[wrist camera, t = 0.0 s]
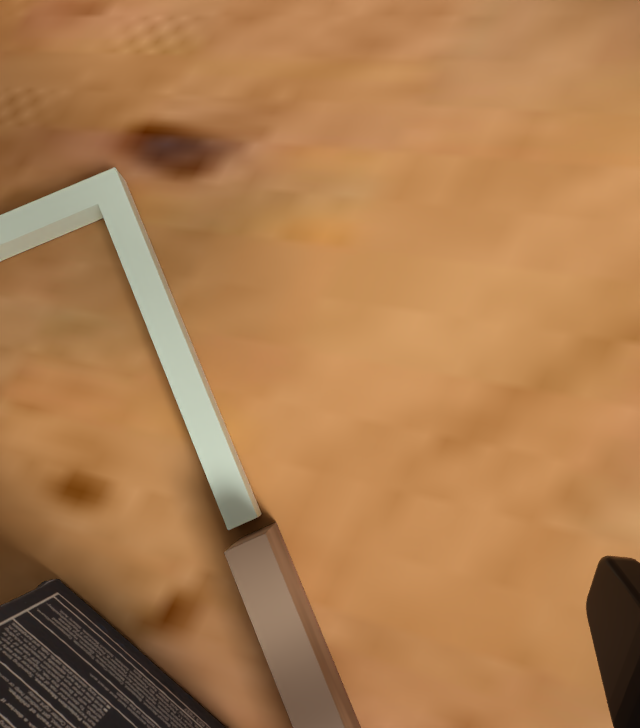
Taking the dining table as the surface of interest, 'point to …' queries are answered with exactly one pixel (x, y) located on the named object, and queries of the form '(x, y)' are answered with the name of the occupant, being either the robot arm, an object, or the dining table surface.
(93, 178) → the frame
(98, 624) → the small box
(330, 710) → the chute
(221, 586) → the dining table surface
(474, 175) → the dining table surface
